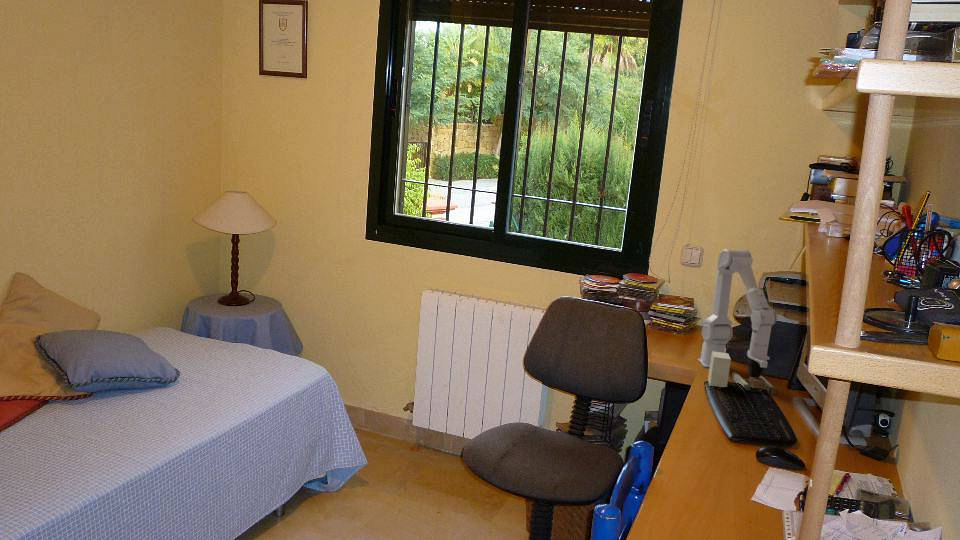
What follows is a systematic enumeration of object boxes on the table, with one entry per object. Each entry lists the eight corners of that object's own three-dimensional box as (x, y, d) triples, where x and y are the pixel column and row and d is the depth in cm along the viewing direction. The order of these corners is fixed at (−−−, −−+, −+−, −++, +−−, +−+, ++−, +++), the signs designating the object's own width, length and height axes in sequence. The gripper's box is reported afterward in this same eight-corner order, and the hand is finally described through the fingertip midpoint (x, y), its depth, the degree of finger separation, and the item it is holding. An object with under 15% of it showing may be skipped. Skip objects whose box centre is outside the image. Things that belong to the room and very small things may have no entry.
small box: (726, 389, 265) (731, 359, 264) (709, 387, 266) (713, 356, 265) (724, 382, 273) (728, 353, 271) (707, 380, 274) (712, 350, 272)
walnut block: (748, 386, 271) (749, 376, 271) (759, 387, 271) (761, 377, 271) (752, 390, 267) (753, 380, 267) (764, 391, 267) (765, 381, 267)
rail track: (731, 377, 280) (732, 372, 279) (760, 380, 280) (760, 375, 279) (745, 391, 265) (746, 386, 265) (775, 394, 265) (776, 388, 265)
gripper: (779, 350, 263) (772, 389, 265) (764, 338, 277) (757, 376, 279) (757, 348, 263) (751, 387, 265) (743, 337, 277) (737, 374, 279)
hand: (753, 381), depth 272 cm, fingers closed
